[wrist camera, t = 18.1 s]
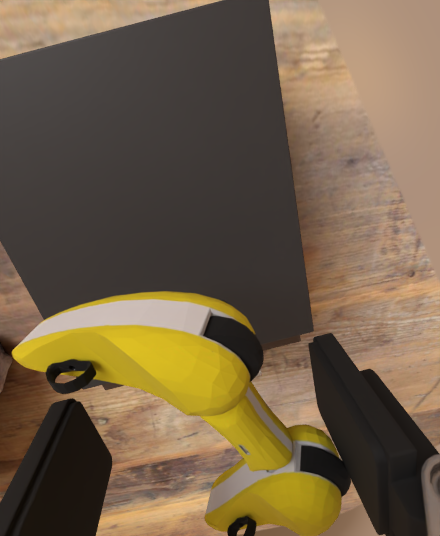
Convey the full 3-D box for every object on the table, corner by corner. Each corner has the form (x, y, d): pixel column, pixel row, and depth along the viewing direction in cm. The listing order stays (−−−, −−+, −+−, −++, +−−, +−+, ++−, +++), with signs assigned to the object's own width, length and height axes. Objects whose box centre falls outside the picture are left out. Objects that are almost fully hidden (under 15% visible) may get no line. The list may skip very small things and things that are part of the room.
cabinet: (274, 269, 26) (314, 331, 17) (117, 309, 26) (82, 390, 18) (234, 51, 20) (267, -13, 11) (29, 105, 20) (-89, 82, 11)
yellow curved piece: (367, 443, 11) (385, 573, 8) (222, 451, 14) (200, 548, 11) (224, 213, 7) (171, 308, 5) (69, 290, 10) (-20, 376, 8)
